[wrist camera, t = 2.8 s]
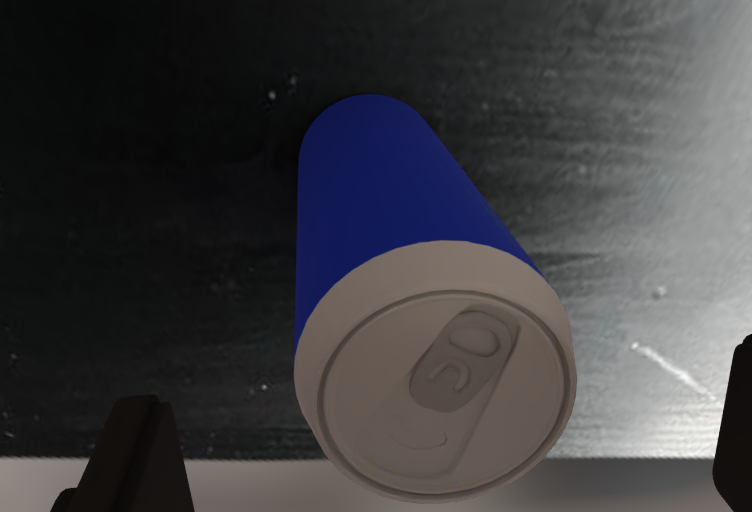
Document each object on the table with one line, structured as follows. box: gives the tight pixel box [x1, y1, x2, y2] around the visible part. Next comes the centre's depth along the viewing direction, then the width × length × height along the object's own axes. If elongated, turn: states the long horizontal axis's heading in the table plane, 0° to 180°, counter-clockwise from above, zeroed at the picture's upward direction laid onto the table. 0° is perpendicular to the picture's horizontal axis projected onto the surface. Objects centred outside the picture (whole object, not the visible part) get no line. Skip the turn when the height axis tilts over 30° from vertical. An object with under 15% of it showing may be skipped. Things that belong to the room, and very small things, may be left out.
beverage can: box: [294, 94, 577, 504], centre depth 18 cm, size 5×5×15 cm
